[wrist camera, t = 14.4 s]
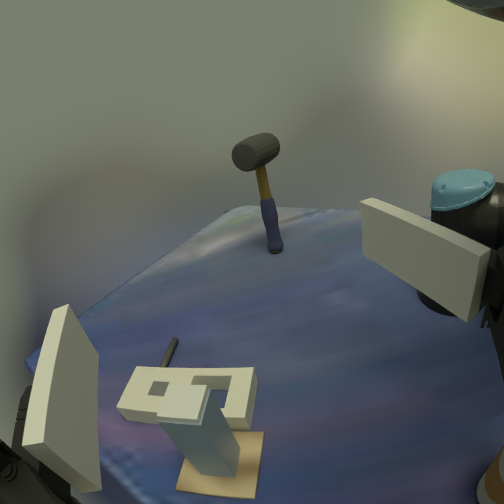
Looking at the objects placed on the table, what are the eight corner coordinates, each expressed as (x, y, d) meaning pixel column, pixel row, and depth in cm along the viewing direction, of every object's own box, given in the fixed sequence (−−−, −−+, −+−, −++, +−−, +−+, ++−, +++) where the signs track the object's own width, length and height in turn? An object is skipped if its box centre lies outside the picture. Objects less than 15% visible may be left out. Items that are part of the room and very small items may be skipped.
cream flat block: (162, 342, 59) (156, 328, 58) (264, 338, 55) (260, 323, 54) (126, 420, 43) (115, 406, 41) (250, 430, 38) (244, 417, 37)
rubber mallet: (273, 239, 90) (252, 132, 77) (298, 240, 86) (279, 129, 73) (252, 262, 81) (225, 143, 68) (279, 264, 77) (255, 139, 64)
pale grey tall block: (207, 446, 36) (167, 382, 30) (240, 448, 36) (208, 383, 29) (200, 474, 33) (154, 417, 26) (235, 477, 32) (198, 420, 25)
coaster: (194, 431, 40) (193, 429, 39) (264, 433, 38) (263, 431, 37) (177, 490, 31) (175, 489, 31) (255, 499, 29) (254, 498, 29)
